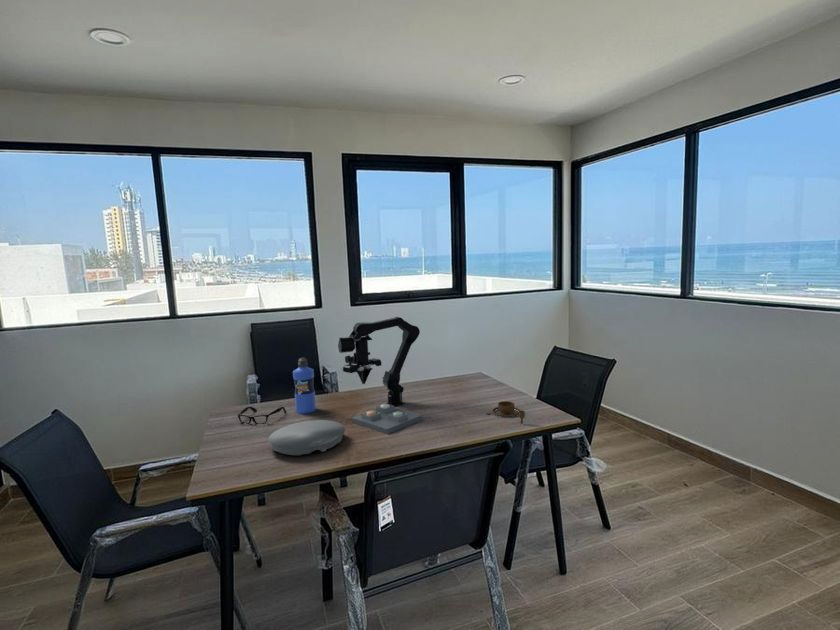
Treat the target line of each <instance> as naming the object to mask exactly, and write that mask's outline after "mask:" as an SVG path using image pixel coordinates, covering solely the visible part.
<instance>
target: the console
mask: <svg viewBox="0 0 840 630" xmlns="http://www.w3.org/2000/svg"><path fill="white" fill-rule="evenodd" d="M386 403H387V402H385V403H384V404H386ZM381 405H382V404H380V405H377V406H375V409H373V410H372V409H370V411H376V414H375V415H372V416H369V415H366V412H367V411H365V412H363V413H361V414H359V415H355V416H352V417H351V423H352V424H356V425H359V426H362V427H365V428H368V429H370V430H374V431H377V432H380V433H383V434H386V435H389V434H392V433H393V432H396V431H397V430H401V429H403V428H405V427H408V426H410V425H412V424H415V423H417V422H420V421H422V419H423V418H422V415H421V414H417V413H414V412H410V411H406V410H404V409H400V408H396V406H393V405H390V407H388V408H386V409H384V408H381ZM398 411H399V412H403V415H401V416H399V417H396V416H393V413H394V412H398Z"/></svg>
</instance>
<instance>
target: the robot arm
mask: <svg viewBox="0 0 840 630" xmlns="http://www.w3.org/2000/svg"><path fill="white" fill-rule="evenodd" d="M394 327H398V328H399V329H400V330H401V331H402V335H401V336H402V339H401V344H400V346H399V349H398V350H397V353H396V356H395V358H394V361H393V363H392V366H391V368H390V370H385V372H384V375H383V377H382V384H383V386H384V387H385V388H386V390H388V392H387V402H385V403H386V404H389V405H393V406H395V407H397V406H401V405H403V404H405V401H403V393H404V387H403V386H402V385H400V381H401V371H402V369H403V366H404V365H405V363H406V362H405V361H406V360H407V356H408V354H409V353H410V350H411V346H412V345H413V344H414V343H415V342H416V340H417V339H418V338H419V335H420V334H421V333H420V328H419V327H418V326H417V325H414V324H411V323H409V322H408V321H406V320H404V319H403V318H402V317H399V316H395V317H392V318H387V319H383V320H377V321H374V322H372V321H371V322H357V323H355V324H354V325H353V327H352V329H353V330H352V331H351V332H350V334H349V336H347V337H338V338H339V339H338V344H337V348H338V352H339V354H342V353H343V354H344V353H345V354H346V353H351V352H353V356H351V355H346V356H344V362H345V363H346V364H344V365H343V367H342V371H343V372H345V373H348V374H354V373H357V376H358V378H359V379H360V382H361V384H362V385H365V384H366V382H367V380H368V378H369V375H370V374H371V371H372V370H373V367H371V366H374V365H375V366H376V367H380V366H381V367H382V360H381V359H380V358H369V356H370V355H371V351H370V352H369V343H368V342H369V341H373V338H372V337H371V336H370V334H372V333H374V332H377V331H381V330H385V329H390V328H394ZM354 351H355V352H354Z"/></svg>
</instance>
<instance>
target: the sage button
mask: <svg viewBox="0 0 840 630" xmlns="http://www.w3.org/2000/svg"><path fill="white" fill-rule="evenodd" d="M401 415H403V412H399V411H398V412H394V413H393V416H396V417H399V416H401Z"/></svg>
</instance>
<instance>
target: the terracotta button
mask: <svg viewBox="0 0 840 630" xmlns="http://www.w3.org/2000/svg"><path fill="white" fill-rule="evenodd" d="M365 412H366V415H369V416H372V415H375V414H376V411H371V410H368V411H365Z"/></svg>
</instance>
